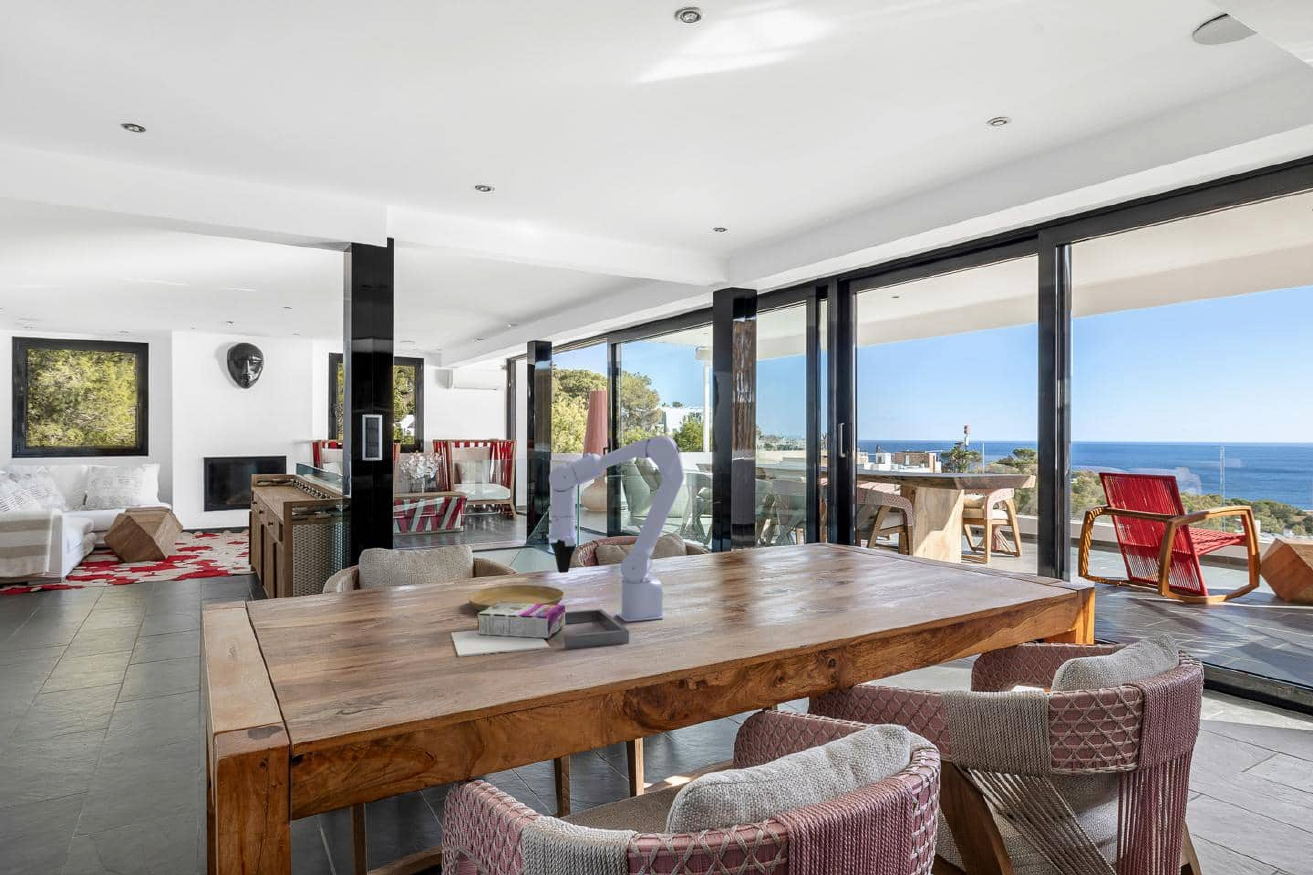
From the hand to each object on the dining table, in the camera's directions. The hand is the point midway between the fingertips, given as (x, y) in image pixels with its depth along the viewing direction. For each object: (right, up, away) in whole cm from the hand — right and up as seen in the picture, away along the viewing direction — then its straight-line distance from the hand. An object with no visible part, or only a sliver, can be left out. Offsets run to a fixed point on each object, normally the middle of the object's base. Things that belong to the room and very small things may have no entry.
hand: (563, 572), depth 182 cm
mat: (-11, -10, -23) cm, 27 cm away
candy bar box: (+1, -8, -18) cm, 20 cm away
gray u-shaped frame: (+7, -10, -17) cm, 21 cm away
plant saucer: (-13, -11, +10) cm, 20 cm away
